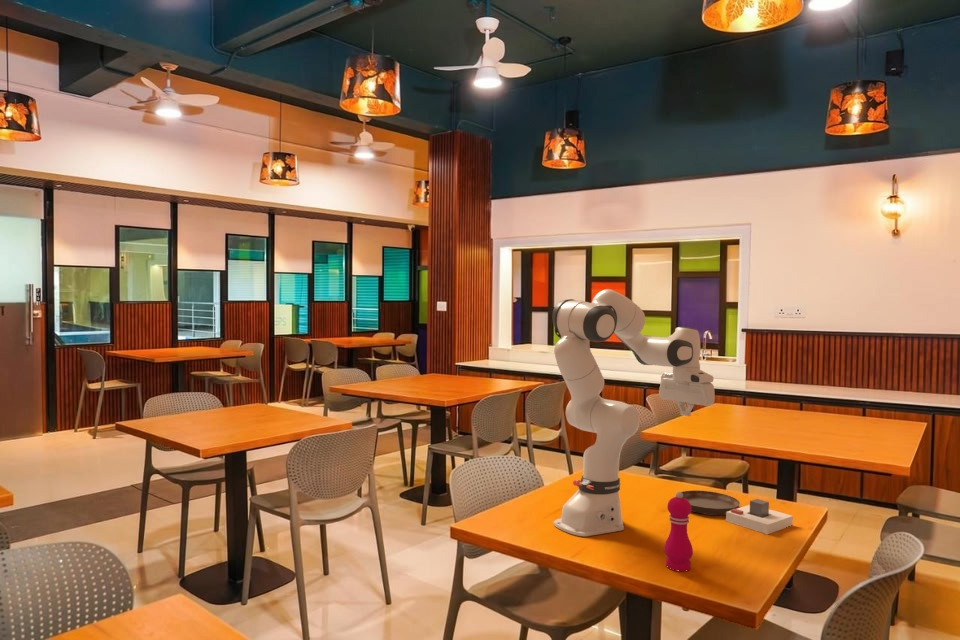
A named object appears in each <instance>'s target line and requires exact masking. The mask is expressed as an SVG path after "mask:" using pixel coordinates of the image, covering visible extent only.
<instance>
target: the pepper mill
mask: <svg viewBox="0 0 960 640" xmlns="http://www.w3.org/2000/svg"><path fill="white" fill-rule="evenodd" d="M682 492H683V491H677V492H676V493H675V495H676V497H672V498H670V499H669V501H668V503H667V510H668V511H667V512H668V513H669V515H668V517H669V519H668V520H669V522H670V531H669V534H668V536H667V538H666V541H665V543H664V549H663V551H664V554H665V555H666V559H665V566H666V567H667V566H668V567H669V568H671V569H674V570H679V571H685V572H687V571H686V570H689V569H690V568H691V567H692V562H691V558H692V557H693V554H694V549H693V545H692V543H691V540H690V538H689V535H688V534H689V533H688V524H689V523H690V517H689V515H690V514H691V512H692V511H691V504H690V502H689V501H688V500H687V499H685V498H682V497H683V493H682ZM669 568H668V569H669ZM671 569H670V570H671ZM690 570H691V569H690ZM690 570H689V571H690ZM679 571H678V572H679Z"/></svg>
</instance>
